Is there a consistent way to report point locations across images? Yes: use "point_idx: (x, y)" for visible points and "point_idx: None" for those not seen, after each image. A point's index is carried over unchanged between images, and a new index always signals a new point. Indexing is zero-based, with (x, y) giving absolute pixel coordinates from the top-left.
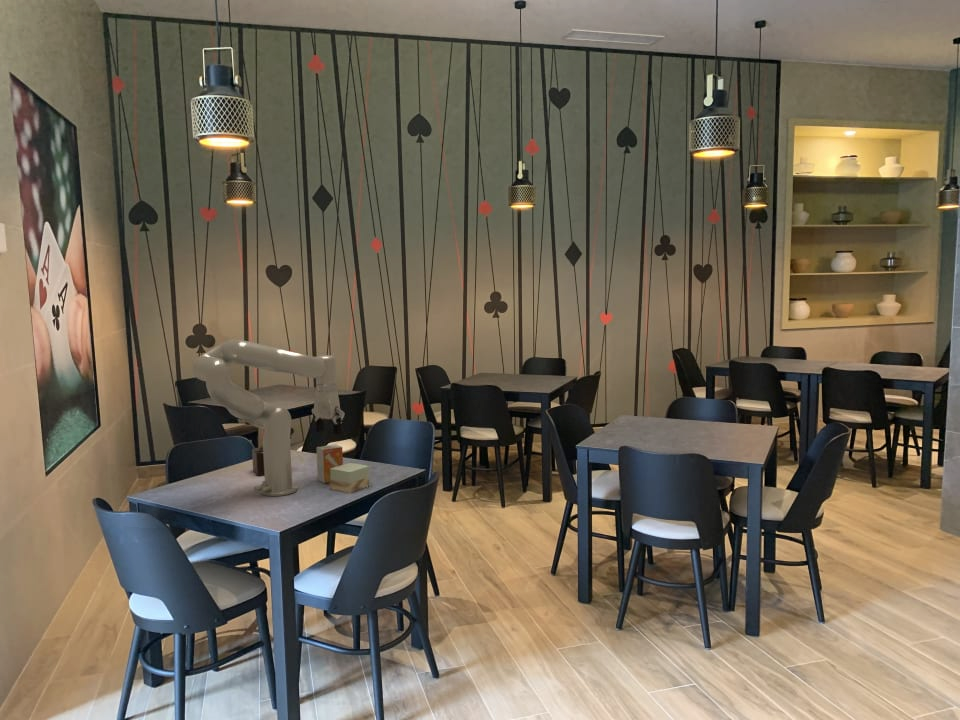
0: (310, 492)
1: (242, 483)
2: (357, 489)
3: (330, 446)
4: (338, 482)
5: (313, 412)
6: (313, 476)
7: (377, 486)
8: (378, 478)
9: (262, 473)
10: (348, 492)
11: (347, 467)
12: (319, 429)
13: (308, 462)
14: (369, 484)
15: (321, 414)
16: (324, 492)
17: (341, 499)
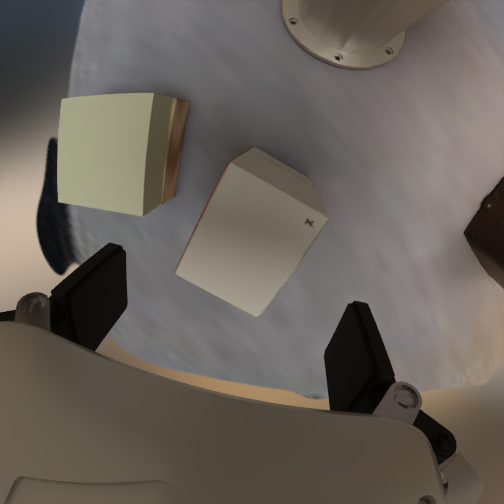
0: (229, 40)
1: (500, 97)
2: None
3: (244, 257)
4: None
5: (457, 472)
6: (356, 220)
7: None
8: (133, 264)
9: (502, 186)
10: None
11: (101, 145)
12: (345, 330)
13: (433, 342)
14: None
15: (197, 458)
16: (182, 60)
17: (97, 44)
